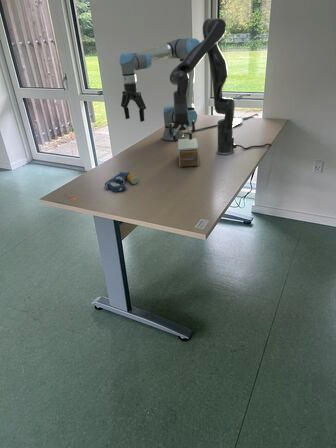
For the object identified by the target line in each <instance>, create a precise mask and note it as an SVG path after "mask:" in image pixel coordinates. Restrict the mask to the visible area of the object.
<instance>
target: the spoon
mask: <svg viewBox="0 0 336 448" xmlns="http://www.w3.org/2000/svg"><path fill="white" fill-rule="evenodd" d="M242 119H243V118H240V117H234V120H233V128H234V127H236V126H238V125H240V124H241V123H242V122H243V120H242Z"/></svg>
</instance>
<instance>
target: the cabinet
mask: <svg viewBox="0 0 336 448" xmlns="http://www.w3.org/2000/svg"><path fill="white" fill-rule="evenodd" d="M181 150H197V151H198V152H199V143H198V138H197V137H192V139H191V140H189V138H182V139H178V140H177V153H178V167H179V168H180V167H181V168H182V167H185V166H180V154H179V151H181ZM199 155H200V154H199V153H198V165H196V166H195V167H197V166H199V165H200V160H199V159H200V157H199Z"/></svg>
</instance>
